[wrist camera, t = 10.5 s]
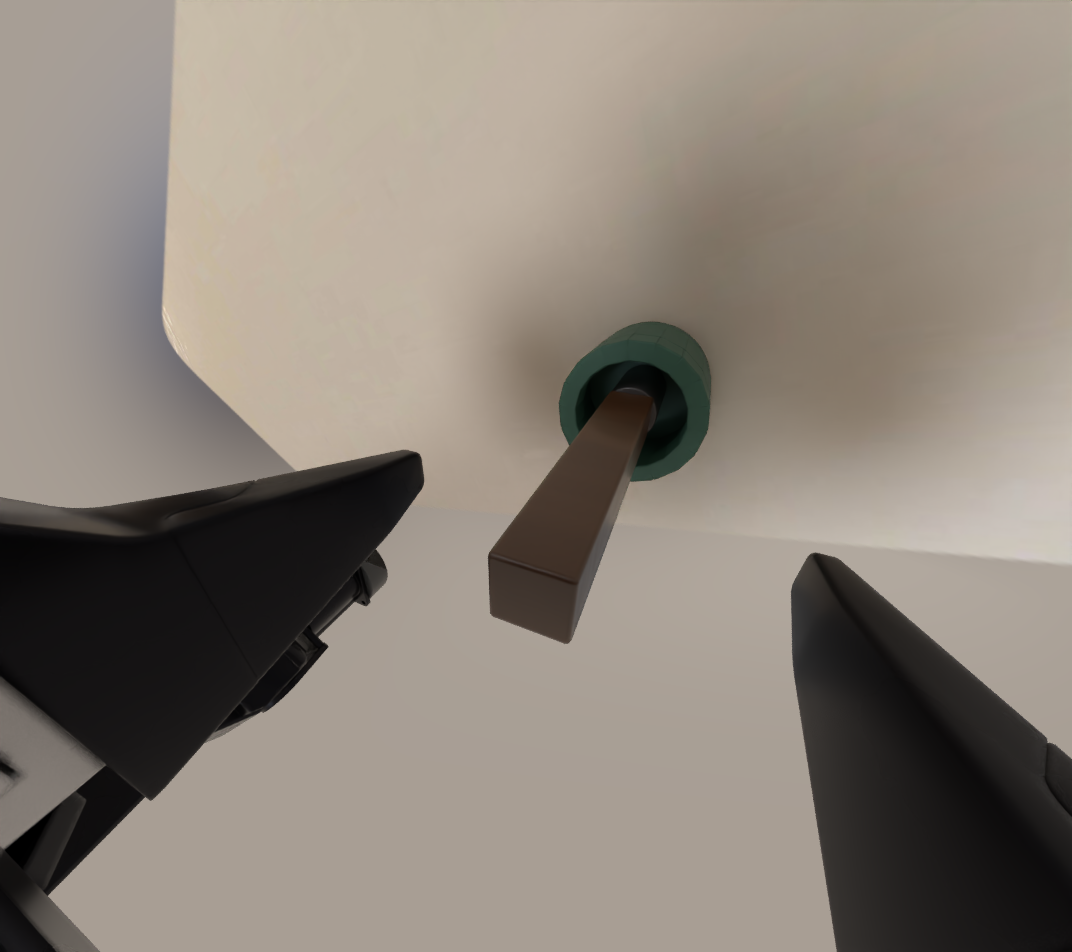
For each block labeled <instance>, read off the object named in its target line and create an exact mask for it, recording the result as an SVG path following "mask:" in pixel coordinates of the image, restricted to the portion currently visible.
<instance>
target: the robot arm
mask: <svg viewBox="0 0 1072 952" xmlns="http://www.w3.org/2000/svg"><path fill="white" fill-rule="evenodd" d="M423 485H424V473H423V466H422V459H421V456H420V454H418V453H417V452H413V451H409V450H400V451H395V452H390V453H385V454H380V455H376V456H371V457H366V458H361V459H356V460H351V461H346V462H341V463H336V464H331V465H326V466H322V467H317V468H312V469H307V470H302V471H297V472H293V473H287V474H282V475H278V476H273V477H268V478H263V479H258V480H257V481H255V480H253V481H248V482H243V483H238V484H233V485H228V486H222V487H217V488H212V489H207V490H201V491H195V492H190V493H184V494H178V495H172V496H166V497H161V498H154V499H148V500H142V501H136V502H130V503H124V504H118V505H112V506H104V507H95V508H64V507H55V506H48V505H42V504H36V503H30V502H25V501H19V500H13V499H7V498H1V497H0V952H100V951H99V950H98V949H97V948H96V947H95V946H94V945H93V944H92V943H91V942H90V941H89V939H88V938H87V937H86V936H85V935H84V934H83V933H82V932H81V931H80V930H79V929H78V928H77V927H76V926H75V925H74V924H73V923H72V921H71V920H70V919H68V917H67V916H66V915H65V914H64V913H63V912H62V911H61V910H60V909H59V908H58V907H57V906H56V905H55V903H54V902H53V901H52V900H51V899H50V898H49V897H48V895H49V894H50V893H51V892H52V891H53V890H54V889H55V888H56V887H57V886H58V885H59V884H60V883H61V882H62V881H63V880H64V879H65V878H66V877H67V876H68V875H69V874H70V873H71V872H72V870H74V869H75V868H76V867H77V865H79V863H80V862H81V861H82V860H83V859H84V858H85V857H86V856H87V855H88V854H89V853H90V852H91V851H92V850H93V849H94V848H95V847H96V846H97V845H98V844H99V843H100V842H101V841H102V840H103V839H104V838H105V837H106V836H107V835H108V834H109V833H110V832H111V831H112V830H113V829H114V828H115V827H116V826H117V825H118V824H119V823H120V822H121V821H122V820H123V819H124V818H125V817H126V816H127V815H128V814H129V813H130V812H131V811H132V810H133V809H134V808H135V807H136V806H137V805H138V804H139V803H140V802H141V801H142V800H143V799H144V798H145V797H146V798H148V799H149V800H150V801H151V800H153V799H154V798H155V797H156V796H157V795H158V794H159V793H160V792H161V791H162V790H163V789H164V788H165V787H166V786H167V785H168V784H169V782H170V781H171V780H172V779H173V778H174V777H175V776H176V775H177V773H178V772H179V771H180V770H181V769H182V768H183V767H184V765H185V764H186V763H187V762H188V761H189V760H190V759H191V758H192V756H193V755H194V754H195V753H196V752H197V751H198V750H199V749H200V747H201V746H202V745H203V744H204V743H206V742H208V741H211V740H213V739H215V738H218V737H220V736H222V735H224V734H226V733H227V732H229V731H231V730H232V729H234V728H236V727H237V726H239V725H240V724H242V723H244V722H245V721H247V720H249V719H250V718H252V717H253V716H255V715H257V714H258V713H260V712H266V711H267V710H269V709H270V708H271V707H273V706H274V705H275V704H276V703H278V702H279V701H280V700H281V699H282V698H283V697H284V696H285V695H286V694H287V693H288V692H289V691H290V690H291V689H292V688H293V687H294V686H295V685H296V684H297V683H298V682H299V681H300V679H301V678H302V677H303V676H304V675H305V674H306V672H307V671H308V670H309V669H310V668H311V667H312V665H313V664H314V663H315V662H316V661H317V660H318V658H319V657H320V656H321V655H322V654H323V653H324V651H325V650H326V649H327V648H328V645H327V644H325V643H323V642H322V641H321V640H320V639H319V638H318V637H319V636H320V635H321V634H322V633H323V632H324V631H325V630H326V629H327V628H328V627H329V626H330V625H331V624H332V623H333V622H334V621H335V620H336V619H337V618H338V617H339V616H340V615H341V614H342V613H343V612H344V611H345V610H347V609H348V607H350V606H351V605H352V604H353V603H354V602H357V603H359V604H361V605H364V606H367V605H368V604H369V603H370V599H369V595H368V591H367V588H366V584H365V580H364V577H363V573H362V569H361V565H362V564H363V563H364V562H365V560H366V559H367V558H368V557H369V556H370V555H371V554H372V552H373V551H374V550H375V549H376V548H377V547H378V546H379V544H380V543H381V542H382V541H383V540H384V539H385V538H386V536H387V535H388V534H389V533H390V532H391V531H392V529H393V528H394V527H395V525H396V524H397V523H398V521H399V520H400V519H401V517H402V516H403V514H404V513H405V512H406V510H407V509H408V507H409V506H410V505H411V503H412V502H413V500H414V499H415V498H416V496H417V495H418V494H419V492H420V491H421V489H422V487H423ZM791 613H792V655H793V668H794V678H795V684H796V690H797V697H798V703H799V709H800V716H801V723H802V729H803V735H804V742H805V749H806V754H807V762H808V768H809V774H810V781H811V788H812V794H813V800H814V807H815V813H816V819H817V826H818V833H819V839H820V846H821V852H822V859H823V865H824V871H825V877H826V885H827V891H828V897H829V904H830V910H831V916H832V923H833V929H834V936H835V943H836V949H837V952H1072V759H1071V758H1070V757H1069V756H1068V755H1066V754H1065V753H1064V752H1063V751H1062V750H1061V749H1059V748H1058V747H1057V746H1056V745H1054V744H1052V743H1047V738H1046V737H1045V736H1044V735H1043V734H1042V733H1041V732H1039V731H1038V730H1037V729H1036V728H1035V727H1034V726H1033V725H1031V724H1030V723H1029V722H1028V721H1027V720H1026V719H1024V718H1023V717H1022V716H1021V715H1020V714H1019V713H1017V712H1016V711H1015V710H1014V709H1013V708H1012V707H1010V706H1009V705H1008V704H1007V703H1006V702H1005V701H1003V700H1002V699H1001V698H1000V697H999V696H998V695H997V694H995V693H994V692H993V691H992V690H991V689H989V688H988V687H987V686H986V685H985V684H984V683H983V682H981V681H980V680H979V679H978V678H977V677H975V676H974V675H973V674H972V673H971V672H970V671H969V670H967V669H966V668H965V667H964V666H963V665H962V664H960V663H959V662H958V661H957V660H956V659H955V658H954V657H952V656H951V655H950V654H949V653H948V652H947V651H945V650H944V649H943V648H942V647H941V646H940V645H938V644H937V643H936V642H935V641H934V640H933V639H931V638H930V637H929V636H928V635H927V634H926V633H924V632H923V631H922V630H921V629H920V628H919V627H917V626H916V625H915V624H914V623H913V622H912V621H910V620H909V619H908V618H907V617H906V616H905V615H903V614H902V613H901V612H900V611H899V610H898V609H897V608H895V607H894V606H893V605H892V604H891V603H889V602H888V601H887V600H886V599H885V598H884V597H883V596H881V595H880V594H879V593H878V592H877V591H876V590H874V589H873V588H872V587H871V586H870V585H869V584H868V583H866V582H865V581H864V580H863V579H862V578H861V577H859V576H858V575H857V574H856V573H855V572H854V571H852V570H851V569H850V568H849V567H848V566H846V565H845V564H844V563H843V562H842V561H841V560H839V559H838V558H835V557H832V556H828V555H824V554H820V553H812V554H810V555H809V556H808V557H807V559H806V561H805V563H804V564H803V566H802V568H801V570H800V571H799V573H798V575H797V577H796V579H795V581H794V583H793V585H792V590H791Z"/></svg>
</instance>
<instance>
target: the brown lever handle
mask: <svg viewBox="0 0 1072 952" xmlns="http://www.w3.org/2000/svg"><path fill="white" fill-rule="evenodd" d="M665 392H666V382H665V379H664V376H663V375H662V374H661V372H660V371H659V370H657V369H656V368H654V367H652V366H648V365H639V366H635V367H633V368H631V369H630V370H628V371H627V372H626V373H625V374H624V376H623V377H622V378H621V380H620V381H619V382H618V384H617V385H616V386H615V388H614V389H613V390H612V391H610V393H609V394H608V395H607V397H606V398H605V399H604V401H603V402H602V403H601V405H600V406H599V407H598V409H597V410H596V411H595V413H594V414H593V415H592V416H591V418H590V419H589V420H588V422H587V423H586V424H585V426H584V427H583V428H582V430H581V431H580V432H579V434H578V435H577V436H576V438H575V439H574V440H573V442H572V443H571V444H570V446H569V447H568V448H567V450H566V451H565V452H564V454H563V455H562V456H561V458H560V459H559V460H558V462H557V463H556V464H555V466H554V467H553V468H552V470H551V471H550V472H549V474H548V475H547V476H546V478H545V479H544V480H543V482H542V483H541V484H540V486H539V487H538V488H537V490H536V491H535V492H534V494H533V495H532V496H531V498H530V499H529V500H528V502H527V503H526V504H525V506H524V507H523V508H522V510H521V511H520V512H519V514H518V515H517V516H516V518H515V519H514V520H513V522H512V523H511V524H510V525H509V527H508V528H507V530H506V531H505V532H504V533H503V535H502V536H501V537H500V539H499V540H498V541H497V543H496V544H495V546H494V547H493V548H492V550H491V551H490V552H489V555H488V567H489V595H490V614H491V615H492V616H493V617H495V618H498V619H501V620H504V621H506V622H509V623H511V624H514V625H517V626H519V627H522V628H525V629H527V630H530V631H533V632H535V633H538V634H540V635H543V636H546V637H548V638H551V639H554V640H556V641H559V642H562V643H564V644H568V643H569V642H570V641H571V640H572V637H573V635H574V632H575V629H576V627H577V624H578V621H579V618H580V616H581V613H582V610H583V608H584V604H585V602H586V599H587V597H588V594H589V591H590V589H591V585H592V583H593V580H594V577H595V575H596V572H597V570H598V567H599V564H600V561H601V559H602V556H603V553H604V551H605V548H606V545H607V542H608V539H609V537H610V534H611V531H612V529H613V526H614V523H615V521H616V518H617V515H618V512H619V510H620V507H621V504H622V502H623V499H624V496H625V493H626V491H627V488H628V485H629V483H630V480H631V477H632V474H633V472H634V469H635V466H636V464H637V461H638V458H639V455H640V453H641V450H642V447H643V444H644V442H645V439H646V436H647V432H649V431H650V430H651V428H652V427H653V425H654V423H655V421H656V418H657V415H658V413H659V410H660V407H661V404H662V401H663V398H664V395H665Z"/></svg>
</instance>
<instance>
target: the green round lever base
mask: <svg viewBox="0 0 1072 952" xmlns="http://www.w3.org/2000/svg"><path fill="white" fill-rule="evenodd" d="M639 365H648V366H652V367H654V368H656V369H657V370H659V371H660V372H661V374H662V375H663V376H664V379H665V382H666V392H665V395H664V398H663V401H662V404H661V407H660V410H659V413H658V415H657V418H656V421H655V423H654V425H653V427H652V428H651V430H650V431H649V432H647V436H646V439H645V442H644V444H643V447H642V450H641V453H640V455H639V458H638V461H637V464H636V466H635V469H634V472H633V474H632V477H631V480H630V482H634V481H648V480H653V479H658V478H660V477H662V476H665V475H667V474H670V473H672V472H675V471H676V470H679V469H680V468H681V467H682V466H683V465H684V464H685V463H686V462H688V461H689V460H690V459H691V458H692V457H693V456H694V455H695V453H696V452H697V451H698V449H699V447H700V445H701V443H702V441H703V439H704V437H705V435H706V434H707V430H708V424H709V414H710V393H711V376H710V370H709V365H708V361H707V359H706V356H705V354H704V352H703V350H702V349H701V347H700V346H699V344H698V343H697V342H696V341H695V340H694V339H693V338H692V337H691V336H690V335H689V334H687V333H686V332H684V331H683V330H681V329H679V328H677V327H675V326H672V325H669V324H666V323H660V322H643V323H637V324H633V325H630V326H628V327H625V328H623V329H621V330H619V331H618V332H616V333H615V334H613V335H612V336H611V337H609V338H608V339H606V340H605V341H604V342H602V343H601V344H600V345H598V346H597V347H596V348H595V349H593V350H592V351H591V352H590V353H588V354H587V355H586V356H585V357H583V358H582V359H581V360H580V361H579V362H578V363H577V364H576V366H575V367H574V369H573V370H572V371H571V373H570V374H569V376H568V377H567V379H566V381H565V382H564V385H563V389H562V393H561V397H560V400H559V412H560V422H561V427H562V431H563V433H564V435H565V437H566V439H567V442H568V444H569V446H570V444H571V443H572V442H573V440H574V439H575V438H576V436H577V435H578V434H579V432H580V431H581V430H582V428H583V427H584V426H585V424H586V423H587V422H588V420H589V419H590V418H591V416H592V415H593V414H594V413H595V411H596V410H597V409H598V407H599V406H600V405H601V403H602V402H603V401H604V399H605V398H606V397H607V395H608V394H609V393H610V391H612V390H613V389H614V388H615V386H616V385H617V384H618V382H619V381H620V380H621V378H622V377H623V376H624V374H625V373H626V372H627V371H628V370H630V369H631V368H633V367H635V366H639Z"/></svg>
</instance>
